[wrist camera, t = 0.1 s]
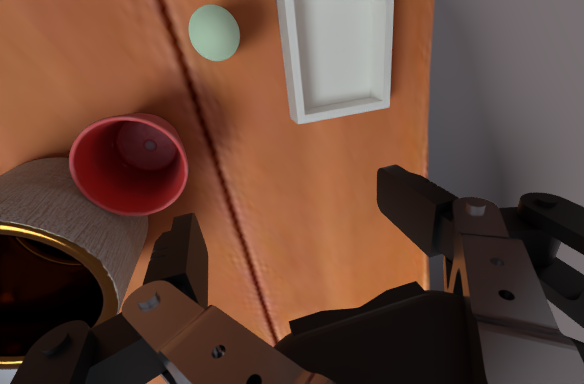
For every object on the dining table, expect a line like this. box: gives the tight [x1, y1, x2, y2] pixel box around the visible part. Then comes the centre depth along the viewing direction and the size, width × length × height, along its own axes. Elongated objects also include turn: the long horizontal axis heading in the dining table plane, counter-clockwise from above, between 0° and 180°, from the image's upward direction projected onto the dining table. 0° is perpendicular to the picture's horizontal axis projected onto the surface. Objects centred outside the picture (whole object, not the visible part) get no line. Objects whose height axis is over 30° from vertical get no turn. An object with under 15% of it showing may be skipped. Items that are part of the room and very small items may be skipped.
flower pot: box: [69, 113, 189, 216], centre depth 33 cm, size 11×11×10 cm
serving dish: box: [276, 0, 394, 124], centre depth 36 cm, size 16×13×4 cm
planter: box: [0, 157, 148, 369], centre depth 32 cm, size 18×18×16 cm
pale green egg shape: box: [189, 5, 240, 61], centre depth 31 cm, size 5×5×7 cm
